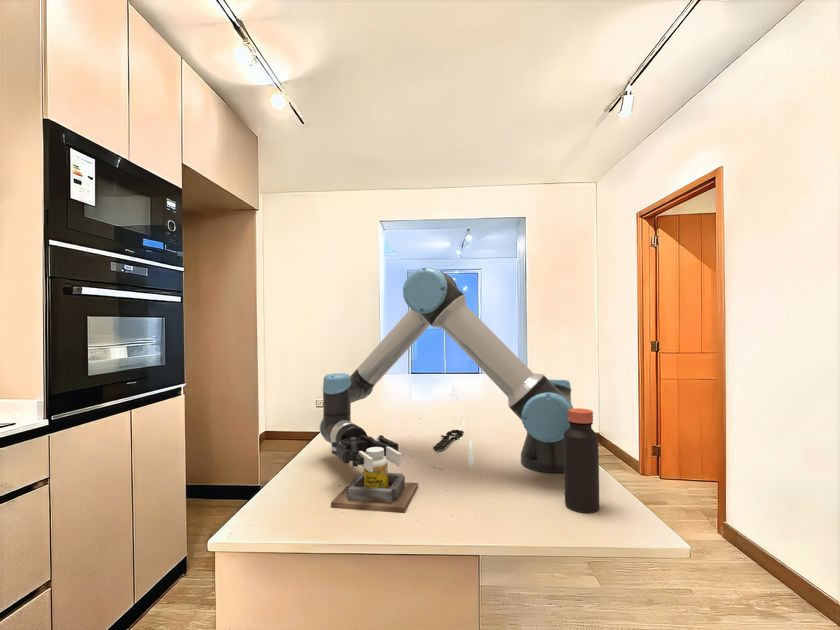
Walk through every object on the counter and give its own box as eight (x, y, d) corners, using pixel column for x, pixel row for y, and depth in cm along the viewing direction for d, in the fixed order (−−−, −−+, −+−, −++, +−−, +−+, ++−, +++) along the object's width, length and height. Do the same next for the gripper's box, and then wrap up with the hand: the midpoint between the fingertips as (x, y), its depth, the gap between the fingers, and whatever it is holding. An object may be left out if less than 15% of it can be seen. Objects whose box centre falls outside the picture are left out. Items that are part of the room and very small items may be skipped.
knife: (441, 455, 130) (441, 450, 130) (421, 452, 132) (421, 447, 132) (468, 434, 152) (468, 430, 152) (451, 432, 155) (451, 428, 155)
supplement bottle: (390, 487, 100) (389, 445, 100) (386, 497, 95) (385, 452, 95) (367, 487, 101) (366, 445, 101) (361, 496, 96) (360, 452, 96)
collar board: (418, 487, 103) (417, 472, 103) (404, 512, 90) (404, 495, 90) (353, 483, 106) (353, 468, 106) (331, 507, 93) (330, 490, 93)
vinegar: (578, 515, 87) (576, 414, 88) (558, 502, 94) (556, 408, 94) (606, 510, 89) (604, 412, 89) (585, 498, 96) (583, 406, 96)
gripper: (382, 447, 118) (424, 472, 98) (312, 458, 109) (343, 489, 89) (382, 419, 118) (424, 438, 98) (312, 428, 109) (343, 451, 89)
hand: (385, 462), depth 94 cm, fingers open, 6 cm apart
